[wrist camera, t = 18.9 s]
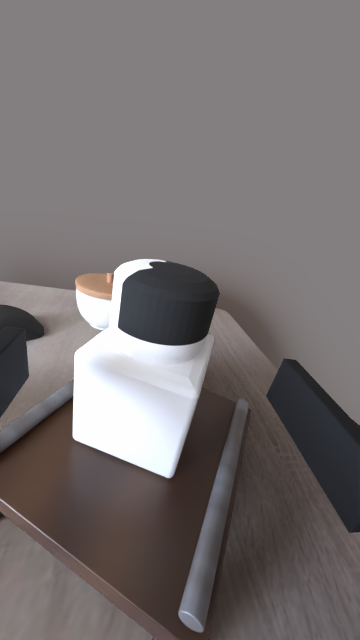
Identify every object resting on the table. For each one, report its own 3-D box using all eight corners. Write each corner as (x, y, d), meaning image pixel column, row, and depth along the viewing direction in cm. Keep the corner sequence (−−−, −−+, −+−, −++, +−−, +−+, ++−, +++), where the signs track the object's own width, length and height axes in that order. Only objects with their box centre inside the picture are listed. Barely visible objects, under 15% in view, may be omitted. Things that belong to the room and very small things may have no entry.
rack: (235, 442, 26) (255, 400, 23) (180, 690, 12) (213, 653, 9) (115, 382, 30) (119, 341, 27) (-31, 510, 16) (-49, 451, 13)
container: (194, 403, 23) (235, 272, 17) (171, 482, 16) (229, 304, 10) (121, 377, 24) (138, 247, 18) (69, 440, 17) (73, 260, 11)
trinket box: (135, 340, 40) (143, 288, 36) (67, 334, 37) (68, 277, 33) (135, 313, 49) (141, 270, 45) (81, 307, 47) (82, 260, 43)
